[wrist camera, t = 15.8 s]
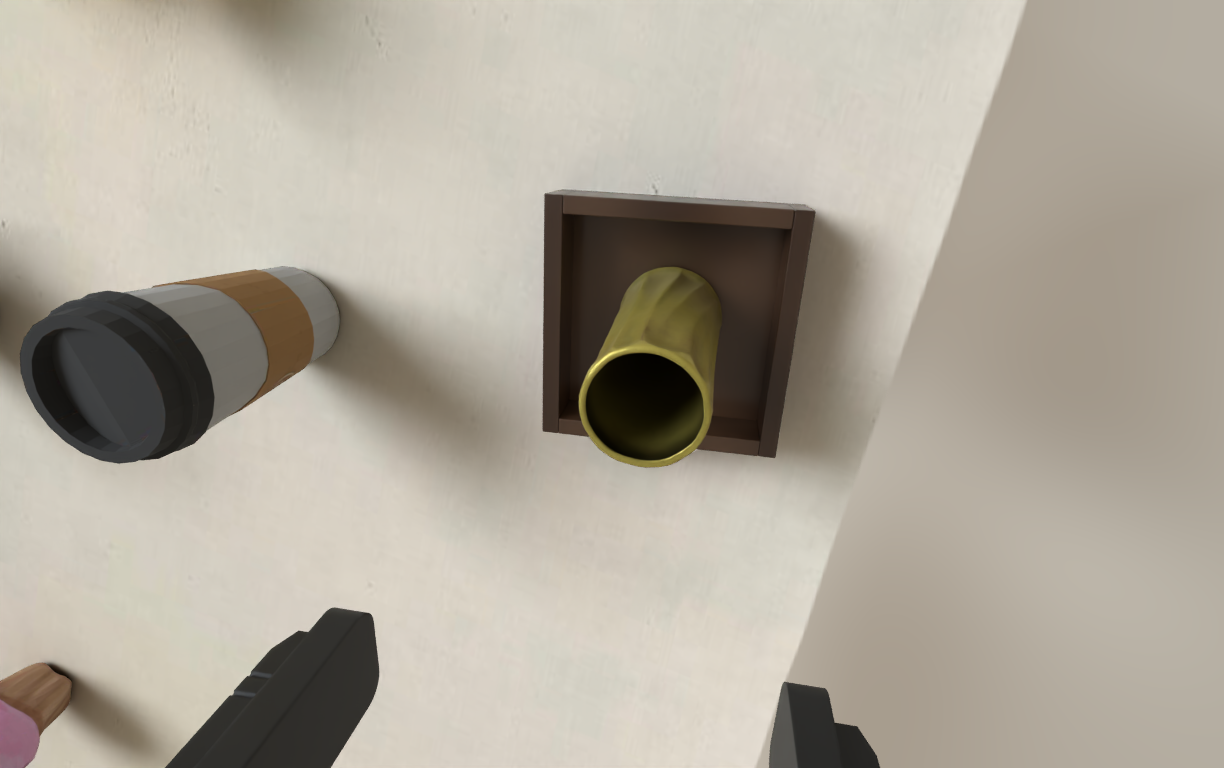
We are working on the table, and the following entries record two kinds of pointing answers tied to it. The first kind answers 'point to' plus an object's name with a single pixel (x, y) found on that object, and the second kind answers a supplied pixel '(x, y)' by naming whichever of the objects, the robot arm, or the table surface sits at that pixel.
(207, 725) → the robot arm
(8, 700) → the cupcake
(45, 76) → the table surface
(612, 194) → the tray
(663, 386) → the vase
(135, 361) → the coffee cup
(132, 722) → the table surface
